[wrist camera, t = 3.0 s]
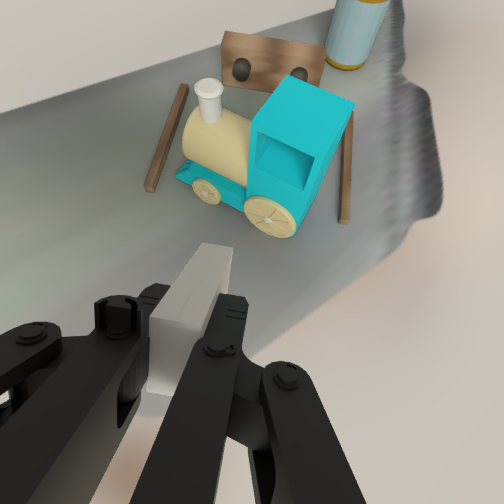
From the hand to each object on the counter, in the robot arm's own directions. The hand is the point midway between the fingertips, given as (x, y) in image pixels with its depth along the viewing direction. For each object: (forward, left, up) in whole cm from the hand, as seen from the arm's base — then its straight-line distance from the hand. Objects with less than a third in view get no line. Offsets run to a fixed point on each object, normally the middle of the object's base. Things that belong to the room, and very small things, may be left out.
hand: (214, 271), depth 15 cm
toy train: (-1, +18, -19) cm, 26 cm away
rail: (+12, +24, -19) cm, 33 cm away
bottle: (+11, +46, -19) cm, 51 cm away
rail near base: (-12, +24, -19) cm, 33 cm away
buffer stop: (0, +37, -19) cm, 42 cm away
